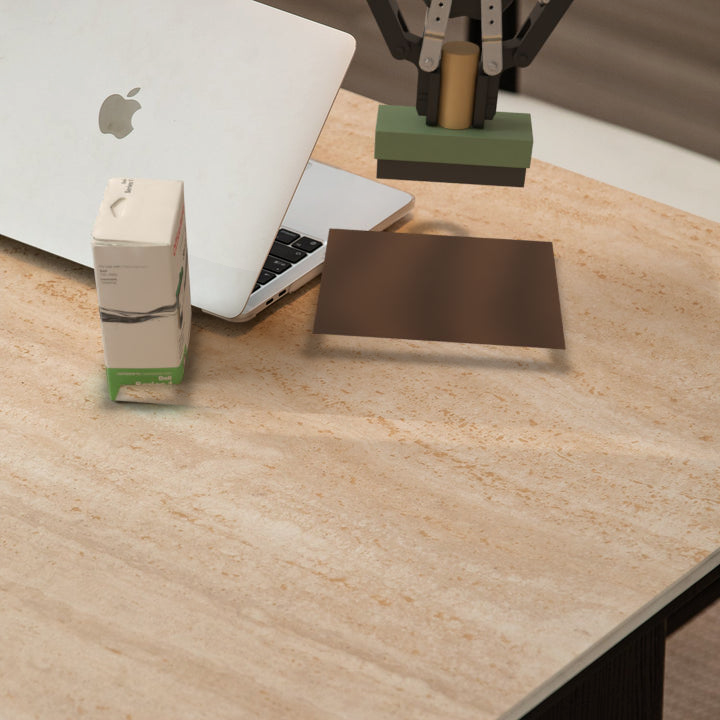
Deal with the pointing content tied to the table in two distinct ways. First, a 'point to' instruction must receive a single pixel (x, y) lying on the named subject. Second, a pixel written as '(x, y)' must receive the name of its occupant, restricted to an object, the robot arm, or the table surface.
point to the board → (439, 289)
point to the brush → (454, 133)
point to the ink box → (142, 282)
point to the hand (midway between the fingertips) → (455, 120)
